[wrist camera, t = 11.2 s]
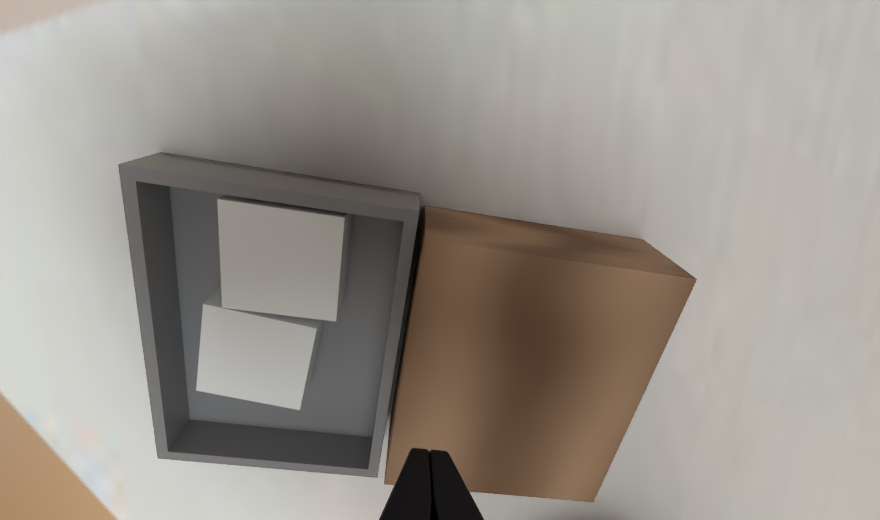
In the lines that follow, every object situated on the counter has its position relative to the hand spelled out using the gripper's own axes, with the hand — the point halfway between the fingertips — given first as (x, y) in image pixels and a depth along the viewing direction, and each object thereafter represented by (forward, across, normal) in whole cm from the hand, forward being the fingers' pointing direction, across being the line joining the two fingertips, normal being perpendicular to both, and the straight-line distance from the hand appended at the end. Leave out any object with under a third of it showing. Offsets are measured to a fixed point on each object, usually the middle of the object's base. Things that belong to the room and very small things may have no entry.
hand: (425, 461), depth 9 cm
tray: (+10, +6, +4) cm, 13 cm away
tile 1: (+8, +7, +4) cm, 11 cm away
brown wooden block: (+10, -5, +3) cm, 12 cm away
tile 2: (+8, +6, 0) cm, 10 cm away
